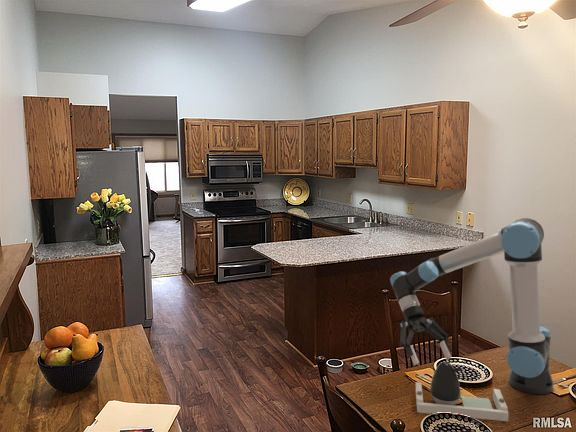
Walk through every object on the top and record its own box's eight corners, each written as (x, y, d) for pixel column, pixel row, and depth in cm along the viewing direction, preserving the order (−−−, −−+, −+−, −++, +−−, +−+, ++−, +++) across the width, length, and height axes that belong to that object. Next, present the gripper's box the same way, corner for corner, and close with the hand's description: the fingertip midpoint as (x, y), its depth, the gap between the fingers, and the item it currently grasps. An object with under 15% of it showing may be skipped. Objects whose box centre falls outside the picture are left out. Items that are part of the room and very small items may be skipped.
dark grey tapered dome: (457, 414, 157) (458, 371, 155) (426, 406, 163) (427, 365, 161) (463, 400, 166) (464, 360, 164) (434, 393, 171) (434, 354, 169)
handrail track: (499, 399, 166) (499, 387, 165) (508, 421, 152) (508, 408, 151) (415, 392, 172) (415, 380, 172) (417, 412, 159) (417, 399, 158)
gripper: (434, 309, 187) (457, 360, 175) (379, 317, 180) (398, 370, 168) (443, 301, 182) (466, 352, 169) (386, 308, 175) (406, 362, 162)
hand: (433, 361), depth 169 cm, fingers open, 13 cm apart
